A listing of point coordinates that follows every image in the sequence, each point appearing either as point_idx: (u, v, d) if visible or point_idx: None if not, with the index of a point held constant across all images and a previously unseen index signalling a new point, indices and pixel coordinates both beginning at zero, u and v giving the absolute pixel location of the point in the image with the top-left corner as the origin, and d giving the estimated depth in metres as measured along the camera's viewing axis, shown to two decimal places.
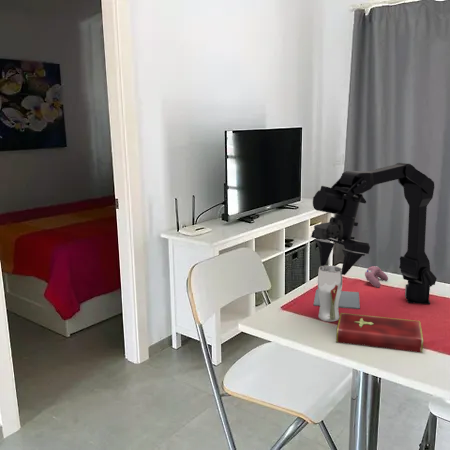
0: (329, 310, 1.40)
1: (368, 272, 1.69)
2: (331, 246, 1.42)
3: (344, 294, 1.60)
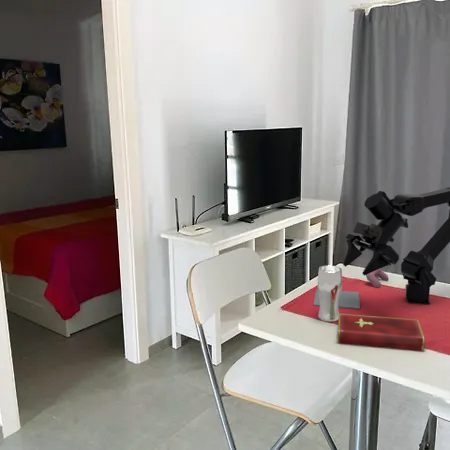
0: (329, 310, 1.40)
1: None
2: (359, 254, 1.49)
3: (344, 294, 1.60)
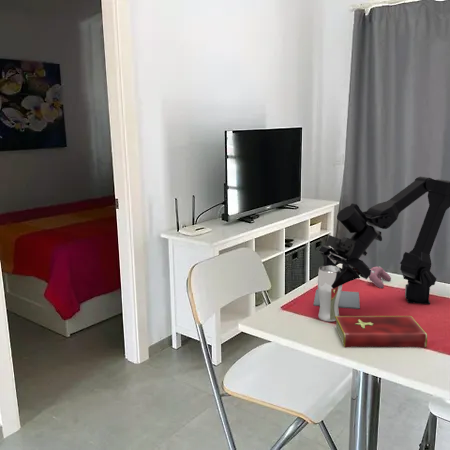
0: (329, 310, 1.40)
1: (371, 272, 1.68)
2: None
3: (344, 294, 1.60)
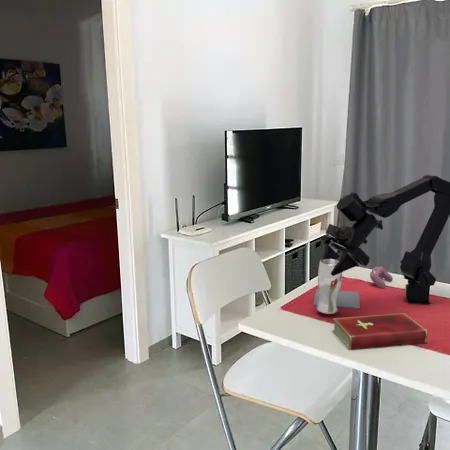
0: (328, 302, 1.42)
1: (373, 273, 1.68)
2: (336, 256, 1.47)
3: (344, 294, 1.60)
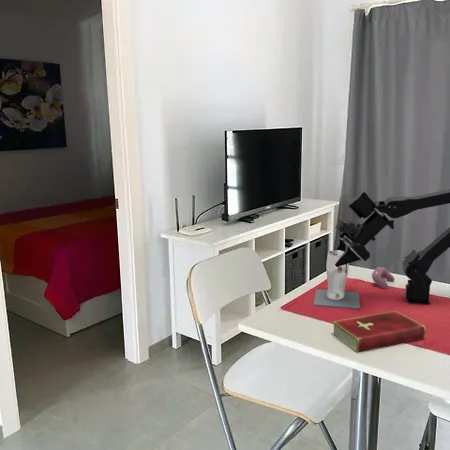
0: (333, 290, 1.54)
1: (375, 273, 1.68)
2: None
3: None
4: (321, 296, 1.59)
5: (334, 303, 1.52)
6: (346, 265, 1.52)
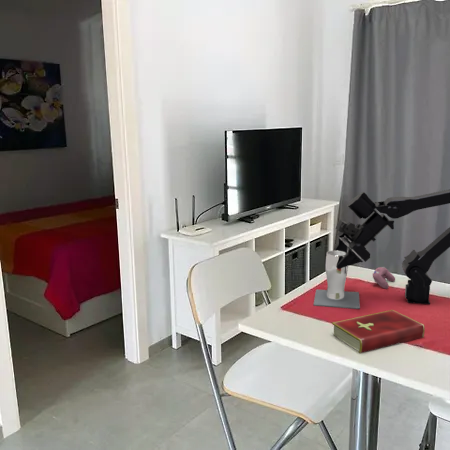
0: (333, 290, 1.54)
1: (376, 273, 1.67)
2: (347, 250, 1.59)
3: None
4: (321, 296, 1.59)
5: (334, 303, 1.52)
6: None
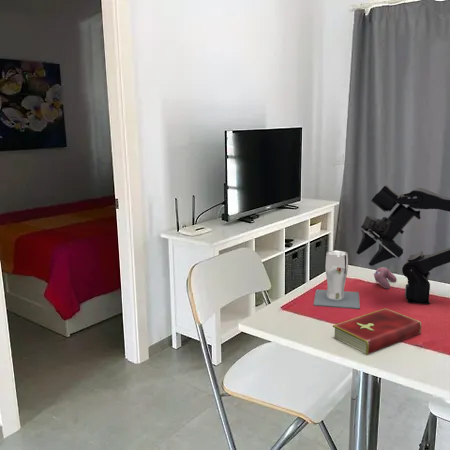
0: (333, 290, 1.54)
1: (377, 273, 1.67)
2: (373, 242, 1.59)
3: None
4: (321, 296, 1.59)
5: (334, 303, 1.52)
6: (345, 265, 1.52)
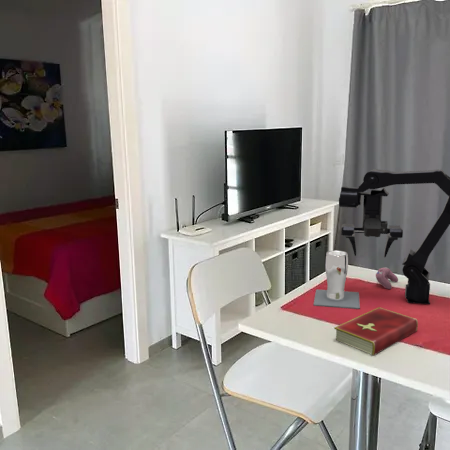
0: (333, 290, 1.54)
1: (379, 274, 1.67)
2: None
3: None
4: (321, 296, 1.59)
5: (334, 303, 1.52)
6: (345, 265, 1.52)
